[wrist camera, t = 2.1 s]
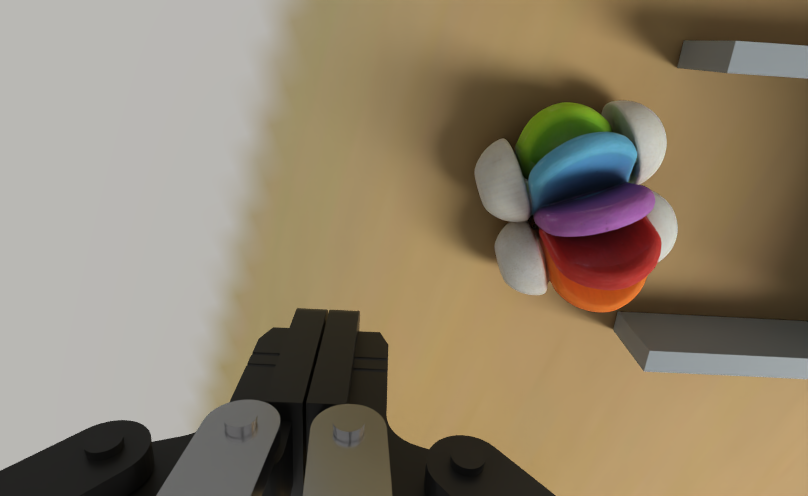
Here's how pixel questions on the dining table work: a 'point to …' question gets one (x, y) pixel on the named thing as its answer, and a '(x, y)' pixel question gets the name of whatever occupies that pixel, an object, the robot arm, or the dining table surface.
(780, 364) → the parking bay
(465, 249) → the dining table surface
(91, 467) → the robot arm
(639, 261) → the white-wheeled rainbow disc toy
